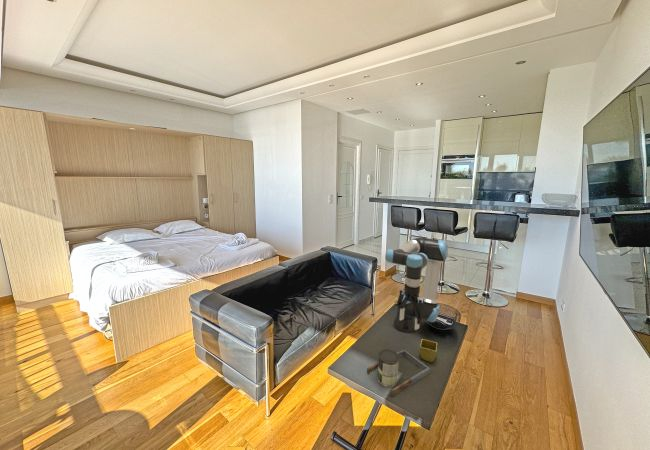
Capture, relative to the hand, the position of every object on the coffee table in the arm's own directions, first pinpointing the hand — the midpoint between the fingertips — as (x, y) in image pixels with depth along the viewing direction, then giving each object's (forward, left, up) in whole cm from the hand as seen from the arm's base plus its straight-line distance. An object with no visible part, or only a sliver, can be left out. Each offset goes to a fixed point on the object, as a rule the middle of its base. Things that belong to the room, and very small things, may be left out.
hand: (408, 323), depth 137 cm
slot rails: (+13, 0, -28) cm, 30 cm away
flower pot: (-18, +1, -28) cm, 33 cm away
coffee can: (+14, 0, -28) cm, 31 cm away
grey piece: (-1, 0, -28) cm, 28 cm away
